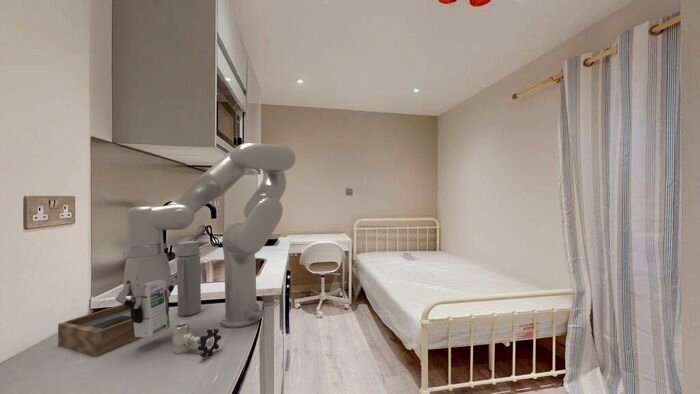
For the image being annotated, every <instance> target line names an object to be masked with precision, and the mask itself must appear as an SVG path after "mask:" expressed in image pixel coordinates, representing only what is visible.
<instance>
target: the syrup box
mask: <svg viewBox="0 0 700 394" xmlns="http://www.w3.org/2000/svg"><path fill="white" fill-rule="evenodd" d="M131 295H132V294H131ZM139 307H141V308H142V318H143V321H142V323H134V332H135V337H142V338H146V339H147V338H154V337H155V336H157V335H159V334H160V333H162V332H164V331H166V330H167V329H170V326H171V325H170V314H169V312H170V310H169V311H168V299H167V286H166V281H164V280H162V279H160V280H155V281H152V282H148V283H146V284H145V295H144V296H143V297H142V300H141V303H140V305H139Z"/></svg>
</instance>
